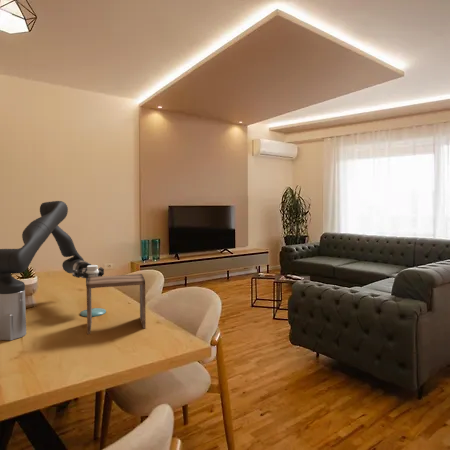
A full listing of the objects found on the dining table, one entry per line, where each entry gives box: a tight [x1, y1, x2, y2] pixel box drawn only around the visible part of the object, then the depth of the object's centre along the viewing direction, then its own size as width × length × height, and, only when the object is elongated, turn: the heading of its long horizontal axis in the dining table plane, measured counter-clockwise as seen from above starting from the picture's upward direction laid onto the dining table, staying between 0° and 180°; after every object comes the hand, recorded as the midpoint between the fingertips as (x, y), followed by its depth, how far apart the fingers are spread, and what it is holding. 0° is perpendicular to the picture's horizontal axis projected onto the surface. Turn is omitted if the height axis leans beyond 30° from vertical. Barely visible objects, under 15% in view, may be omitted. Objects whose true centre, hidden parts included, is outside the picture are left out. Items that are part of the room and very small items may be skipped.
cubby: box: [85, 273, 147, 335], centre depth 145 cm, size 14×22×20 cm, turn 108°
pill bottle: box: [85, 264, 99, 288], centre depth 161 cm, size 6×6×10 cm
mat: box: [79, 307, 107, 318], centre depth 162 cm, size 11×11×1 cm
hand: (94, 275), depth 159 cm, fingers closed on pill bottle, 5 cm apart
